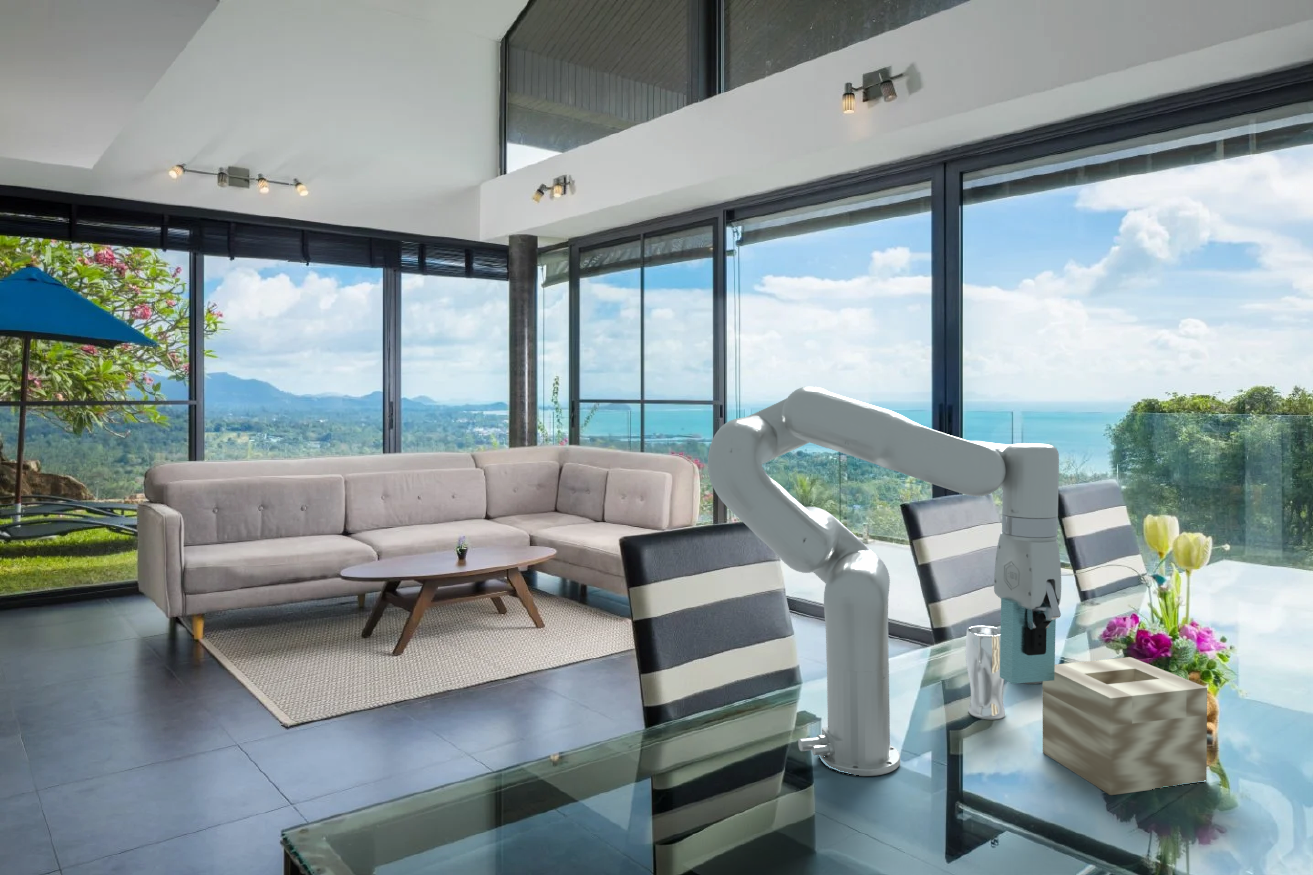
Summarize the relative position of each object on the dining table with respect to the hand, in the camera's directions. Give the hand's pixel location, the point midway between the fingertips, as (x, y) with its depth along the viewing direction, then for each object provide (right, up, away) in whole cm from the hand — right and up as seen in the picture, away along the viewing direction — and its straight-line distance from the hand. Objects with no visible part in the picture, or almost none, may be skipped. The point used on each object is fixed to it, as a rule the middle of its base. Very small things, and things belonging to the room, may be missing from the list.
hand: (1027, 649), depth 128 cm
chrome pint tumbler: (+4, -18, +26) cm, 32 cm away
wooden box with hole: (+16, -19, +3) cm, 25 cm away
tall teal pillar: (0, -4, 0) cm, 4 cm away
